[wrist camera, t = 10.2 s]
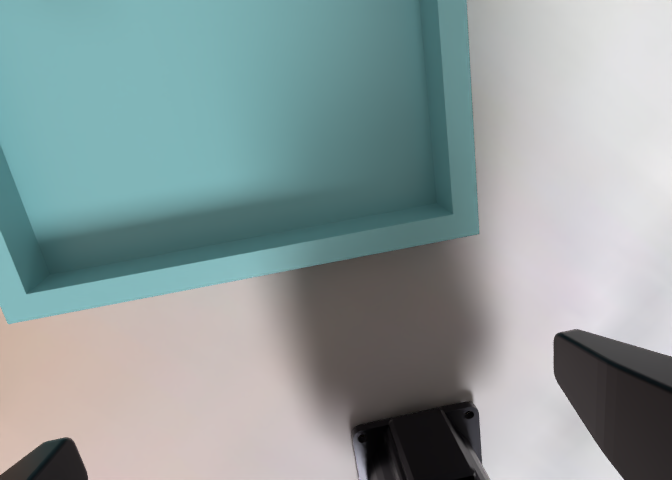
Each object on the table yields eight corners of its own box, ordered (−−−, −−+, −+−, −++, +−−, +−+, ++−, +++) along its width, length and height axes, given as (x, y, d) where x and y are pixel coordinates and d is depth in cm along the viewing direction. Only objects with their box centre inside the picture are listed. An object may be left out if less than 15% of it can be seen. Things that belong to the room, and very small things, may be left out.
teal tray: (455, 217, 21) (479, 233, 18) (40, 295, 19) (8, 324, 17) (417, -316, 15) (444, -392, 13) (-179, -257, 14) (-274, -331, 11)
